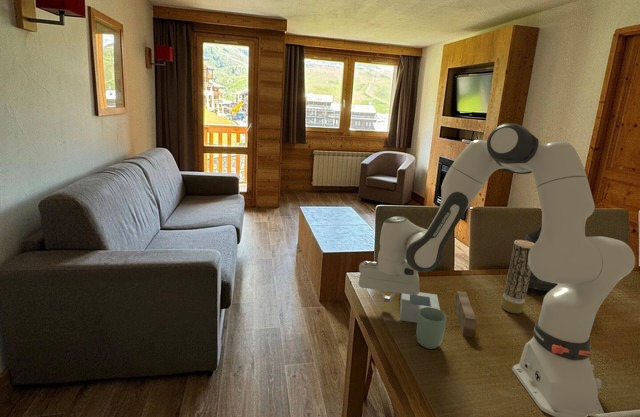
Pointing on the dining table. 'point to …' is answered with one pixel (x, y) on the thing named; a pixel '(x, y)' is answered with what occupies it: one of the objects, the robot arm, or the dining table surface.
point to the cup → (430, 327)
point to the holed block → (416, 305)
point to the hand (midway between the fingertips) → (386, 301)
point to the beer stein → (534, 283)
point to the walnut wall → (465, 314)
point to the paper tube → (517, 277)
